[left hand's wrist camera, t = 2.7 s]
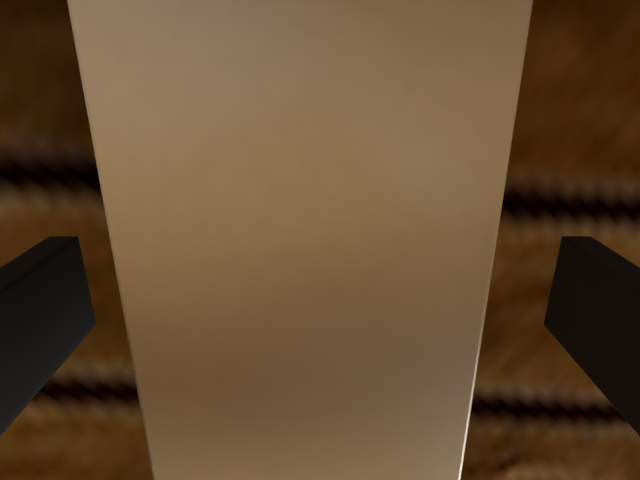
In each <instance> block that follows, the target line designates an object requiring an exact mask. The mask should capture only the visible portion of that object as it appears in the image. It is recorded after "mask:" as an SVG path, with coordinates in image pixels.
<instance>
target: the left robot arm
mask: <svg viewBox="0 0 640 480" xmlns="http://www.w3.org/2000/svg"><path fill="white" fill-rule="evenodd" d="M95 325H96V321H95V316H94V312H93V307H92V302H91V297H90V293H89V288H88V283H87V278H86V273H85V269H84V264H83V259H82V254H81V250H80V245H79V240H78V237H48V238H46V239H45V240H43V241H42V242H40V243H39V244H37V245H36V246H34V247H32V248H31V249H29V250H28V251H26V252H25V253H23V254H21V255H20V256H18V257H17V258H15V259H14V260H12V261H10V262H9V263H7V264H6V265H4V266H3V267H1V268H0V436H1V435H2V433H3V432H4V431H5V430H6V429H7V428H8V427H9V425H10V424H11V423H12V422H13V421H14V420H15V418H16V417H17V416H18V415H19V414H20V413H21V411H22V410H23V409H24V408H25V407H26V406H27V404H28V403H29V402H30V401H31V400H32V399H33V397H34V396H35V395H36V394H37V393H38V392H39V390H40V389H41V388H42V387H43V386H44V385H45V383H46V382H47V381H48V380H49V379H50V378H51V376H52V375H53V374H54V373H55V372H56V371H57V369H58V368H59V367H60V366H61V365H62V364H63V362H64V361H65V360H66V359H67V358H68V357H69V355H70V354H71V353H72V352H73V351H74V350H75V348H76V347H77V346H78V345H79V344H80V343H81V341H82V340H83V339H84V338H85V337H86V336H87V335H88V333H89V332H90V331H91V330H92V329H93V328H94V326H95ZM544 325H545V326H546V328H547V329H548V330H549V331H550V332H551V333H552V335H553V336H554V337H555V338H556V339H557V340H558V341H559V343H560V344H561V345H562V346H563V347H564V348H565V350H566V351H567V352H568V353H569V354H570V355H571V357H572V358H573V359H574V360H575V361H576V362H577V364H578V365H579V366H580V367H581V368H582V369H583V371H584V372H585V373H586V374H587V375H588V376H589V378H590V379H591V380H592V381H593V382H594V383H595V385H596V386H597V387H598V388H599V389H600V390H601V392H602V393H603V394H604V395H605V396H606V397H607V399H608V400H609V401H610V402H611V403H612V404H613V406H614V407H615V408H616V409H617V410H618V411H619V413H620V414H621V415H622V416H623V417H624V418H625V420H626V421H627V422H628V423H629V424H630V425H631V427H632V428H633V429H634V430H635V431H636V432H637V433H638V435H639V436H640V268H639V267H637V266H636V265H634V264H633V263H631V262H630V261H628V260H626V259H625V258H623V257H622V256H620V255H619V254H617V253H615V252H614V251H612V250H611V249H609V248H608V247H606V246H604V245H603V244H601V243H600V242H598V241H597V240H595V239H594V238H592V237H562V240H561V245H560V250H559V254H558V259H557V264H556V269H555V273H554V278H553V283H552V288H551V293H550V297H549V302H548V307H547V312H546V316H545V321H544Z"/></svg>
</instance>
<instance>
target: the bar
mask: <svg viewBox="0 0 640 480" xmlns="http://www.w3.org/2000/svg"><path fill="white" fill-rule="evenodd" d="M67 3H68V8H69V14H70V19H71V25H72V30H73V36H74V42H75V47H76V53H77V58H78V64H79V69H80V75H81V80H82V86H83V92H84V97H85V103H86V108H87V114H88V119H89V125H90V130H91V136H92V142H93V147H94V153H95V158H96V164H97V169H98V175H99V180H100V186H101V192H102V197H103V203H104V208H105V214H106V219H107V225H108V230H109V236H110V242H111V247H112V253H113V258H114V264H115V269H116V275H117V280H118V286H119V292H120V297H121V303H122V308H123V314H124V319H125V325H126V330H127V336H128V342H129V347H130V353H131V358H132V364H133V369H134V375H135V380H136V386H137V392H138V397H139V403H140V408H141V414H142V419H143V425H144V430H145V436H146V442H147V447H148V453H149V458H150V464H151V469H152V475H153V480H460V479H461V472H462V466H463V459H464V452H465V446H466V439H467V433H468V426H469V419H470V413H471V406H472V400H473V393H474V386H475V380H476V373H477V367H478V360H479V353H480V347H481V340H482V334H483V327H484V320H485V314H486V307H487V301H488V294H489V287H490V281H491V274H492V268H493V261H494V254H495V248H496V241H497V235H498V228H499V221H500V215H501V208H502V202H503V195H504V188H505V182H506V175H507V169H508V162H509V155H510V149H511V142H512V136H513V129H514V122H515V116H516V109H517V103H518V96H519V89H520V83H521V76H522V70H523V63H524V56H525V50H526V43H527V37H528V30H529V23H530V17H531V10H532V4H533V0H67Z"/></svg>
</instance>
